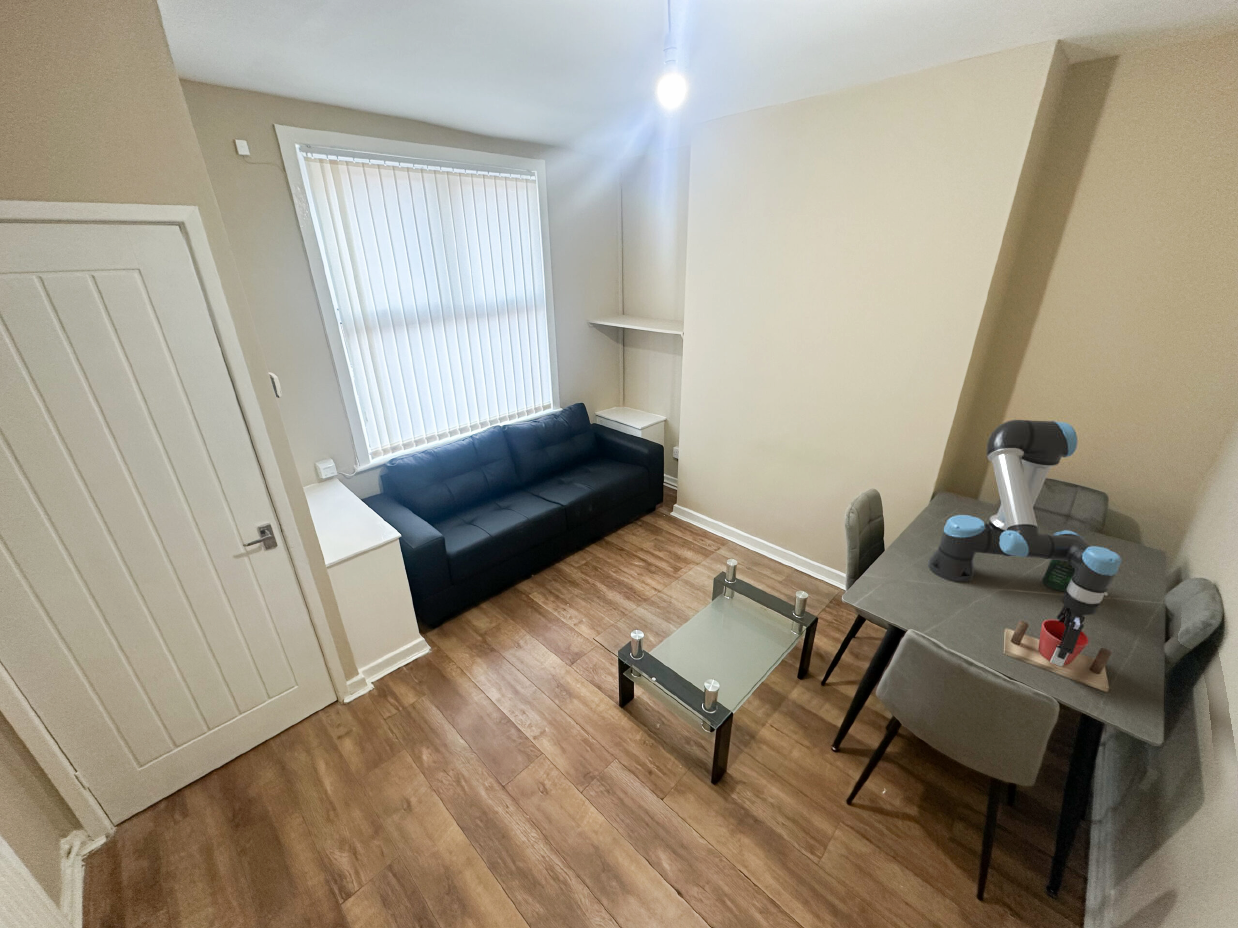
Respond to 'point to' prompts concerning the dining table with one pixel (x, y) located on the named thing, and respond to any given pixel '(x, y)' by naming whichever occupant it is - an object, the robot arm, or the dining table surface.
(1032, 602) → the dining table surface
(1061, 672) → the rack
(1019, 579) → the dining table surface
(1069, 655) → the flower pot
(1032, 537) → the robot arm
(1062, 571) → the coffee jar
